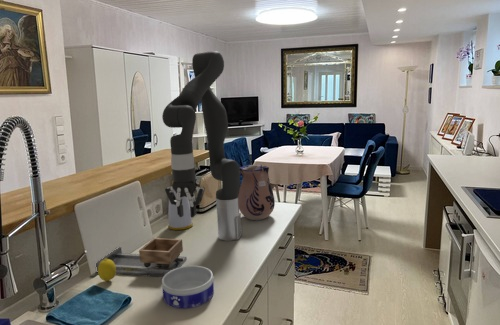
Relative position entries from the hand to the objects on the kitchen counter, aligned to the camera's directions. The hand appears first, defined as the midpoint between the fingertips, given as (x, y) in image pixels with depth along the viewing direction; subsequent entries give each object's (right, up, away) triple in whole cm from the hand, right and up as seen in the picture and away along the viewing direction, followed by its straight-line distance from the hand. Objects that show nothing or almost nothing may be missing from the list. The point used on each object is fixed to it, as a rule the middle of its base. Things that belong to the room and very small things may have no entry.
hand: (187, 216), depth 126 cm
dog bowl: (+3, -22, -13) cm, 26 cm away
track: (-17, -19, +8) cm, 27 cm away
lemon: (-26, -21, -3) cm, 33 cm away
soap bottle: (-11, -12, +46) cm, 49 cm away
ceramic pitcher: (+23, -9, +54) cm, 59 cm away
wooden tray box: (-10, -17, +5) cm, 20 cm away
